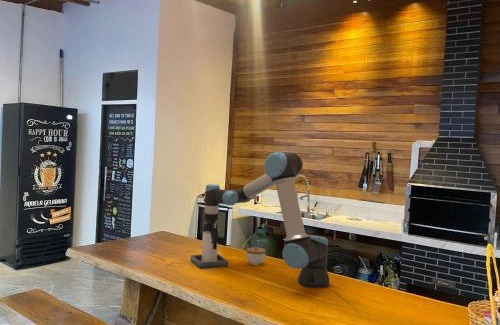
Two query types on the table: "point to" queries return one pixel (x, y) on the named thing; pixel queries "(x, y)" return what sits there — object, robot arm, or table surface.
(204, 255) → the cup
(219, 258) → the square metal tray
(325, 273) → the robot arm
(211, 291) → the table surface
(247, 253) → the lidded jar
